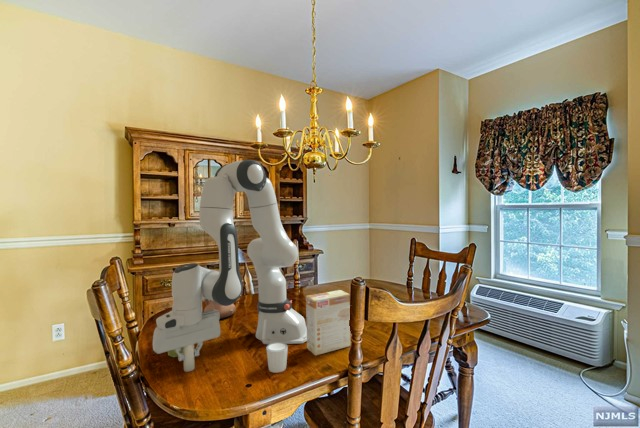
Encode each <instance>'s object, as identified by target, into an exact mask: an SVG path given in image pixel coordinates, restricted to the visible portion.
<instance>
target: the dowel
mask: <svg viewBox="0 0 640 428" xmlns="http://www.w3.org/2000/svg"><path fill="white" fill-rule="evenodd" d="M194 349H195V344H192V345H188V346H185V347H183V354H184V355H185V357H184V358H185V360H183V371H184V372H192V371H194V370H195V369H196V368H195V367H196V366H195V357H194Z"/></svg>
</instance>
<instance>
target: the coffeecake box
mask: <svg viewBox="0 0 640 428" xmlns="http://www.w3.org/2000/svg"><path fill="white" fill-rule="evenodd" d="M350 296H351V295H350V293H348V292H346V291H344V290H342V289H337V290H331V291H326V292H322V293H321V292H320V293H315V294H309V295H308V294H307V295H305V303H306V304H305V309H306V311H305V313H306V314H305V315H306V316H305V317H306V318H305V321H306V327H307V341H306V348H307V350H308V351H309V352H311V353H312V354H313V355H314V356H320V355H322V354H326V353H330V352H334V351H336V350H340V349H345V348H349V347H352V346H351V331H350V326H349V320H350V306H351V305H350V303H351V301H350V300H351V299H350Z"/></svg>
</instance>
